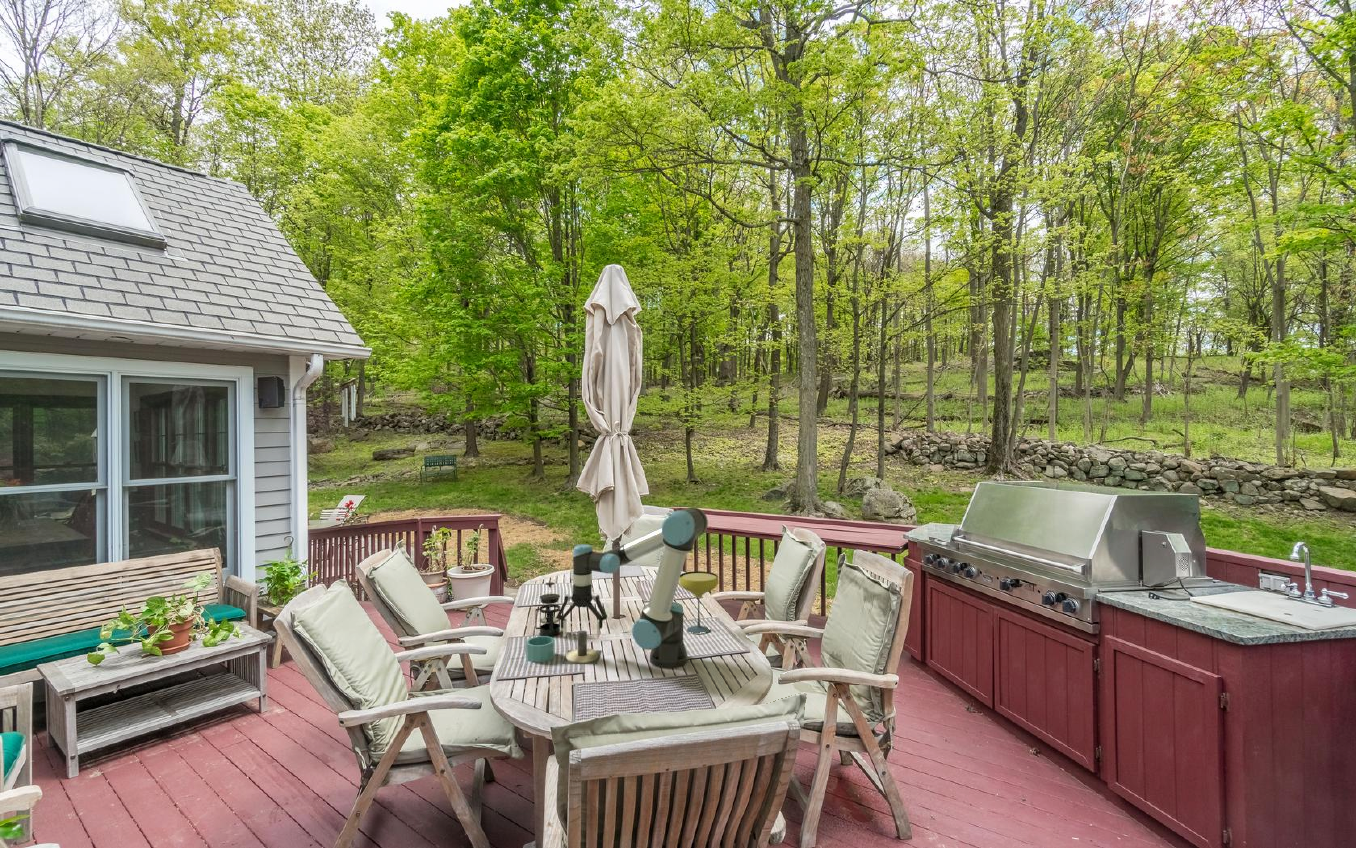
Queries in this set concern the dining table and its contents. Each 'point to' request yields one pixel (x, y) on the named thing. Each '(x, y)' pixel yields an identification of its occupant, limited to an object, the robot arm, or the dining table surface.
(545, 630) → the french press
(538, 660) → the bowl
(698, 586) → the cocktail glass
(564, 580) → the dining table surface
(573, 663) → the mat
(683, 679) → the dining table surface
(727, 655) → the dining table surface
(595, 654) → the lid
